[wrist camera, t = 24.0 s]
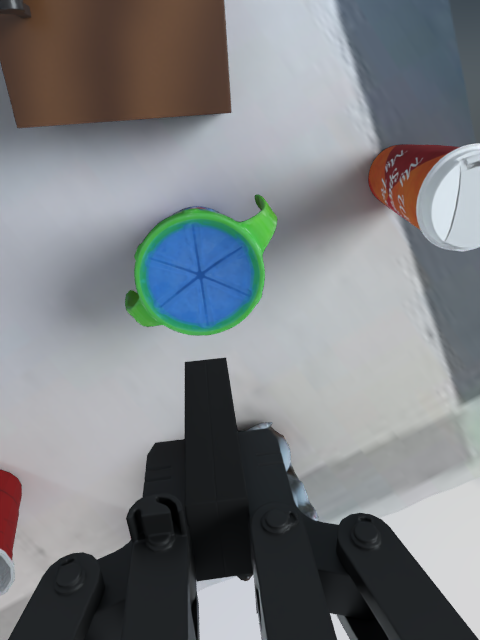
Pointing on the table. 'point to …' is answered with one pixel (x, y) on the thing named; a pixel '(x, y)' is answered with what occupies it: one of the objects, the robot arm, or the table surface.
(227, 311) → the snack cup
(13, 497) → the plastic cup
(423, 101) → the table surface
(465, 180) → the paper cup
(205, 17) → the lid
